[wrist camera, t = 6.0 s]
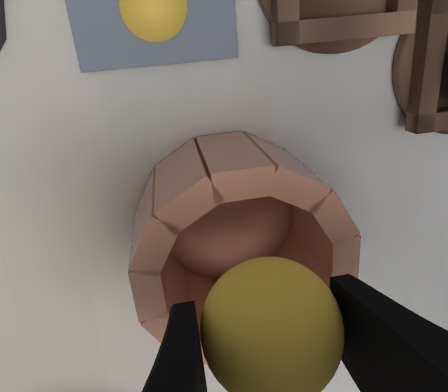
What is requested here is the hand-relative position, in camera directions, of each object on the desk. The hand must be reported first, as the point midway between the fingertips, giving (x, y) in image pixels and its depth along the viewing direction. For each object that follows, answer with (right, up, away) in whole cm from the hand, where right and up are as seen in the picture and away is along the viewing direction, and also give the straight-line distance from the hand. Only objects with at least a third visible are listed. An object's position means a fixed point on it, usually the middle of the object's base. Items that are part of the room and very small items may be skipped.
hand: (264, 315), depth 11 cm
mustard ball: (0, 0, -1) cm, 1 cm away
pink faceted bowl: (-1, +3, +6) cm, 7 cm away
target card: (-4, +11, +3) cm, 12 cm away
